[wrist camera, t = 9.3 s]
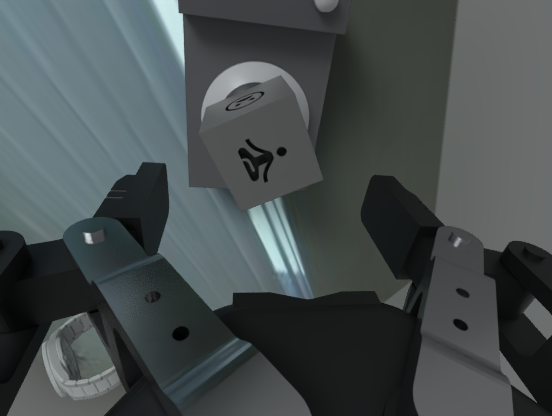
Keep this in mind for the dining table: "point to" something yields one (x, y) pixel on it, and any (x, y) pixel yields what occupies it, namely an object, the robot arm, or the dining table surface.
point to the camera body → (255, 60)
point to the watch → (73, 363)
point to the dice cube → (260, 143)
